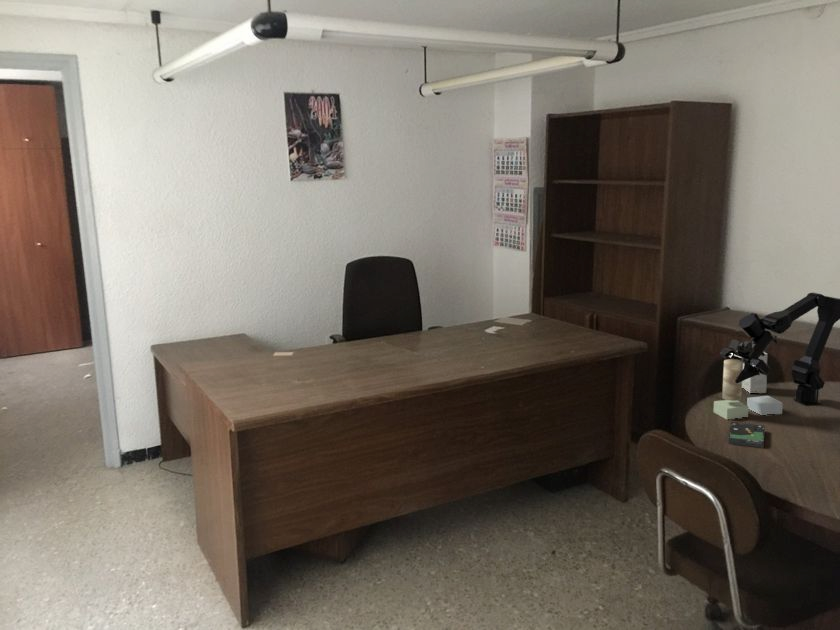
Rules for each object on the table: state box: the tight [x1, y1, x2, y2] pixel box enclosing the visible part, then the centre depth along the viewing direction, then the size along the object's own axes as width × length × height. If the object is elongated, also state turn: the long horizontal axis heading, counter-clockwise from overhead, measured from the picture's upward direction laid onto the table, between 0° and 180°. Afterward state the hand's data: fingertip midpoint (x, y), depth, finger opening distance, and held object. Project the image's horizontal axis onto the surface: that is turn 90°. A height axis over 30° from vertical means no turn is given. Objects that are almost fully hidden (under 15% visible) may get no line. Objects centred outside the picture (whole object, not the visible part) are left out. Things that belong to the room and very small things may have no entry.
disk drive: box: [727, 421, 765, 448], centre depth 227 cm, size 10×3×15 cm
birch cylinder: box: [721, 359, 743, 401], centre depth 244 cm, size 6×6×13 cm
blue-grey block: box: [746, 395, 784, 416], centre depth 249 cm, size 8×8×4 cm
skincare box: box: [742, 351, 768, 394], centre depth 269 cm, size 8×7×16 cm
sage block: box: [712, 399, 749, 420], centre depth 246 cm, size 8×8×4 cm
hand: (729, 380), depth 244 cm, fingers closed on birch cylinder, 6 cm apart
